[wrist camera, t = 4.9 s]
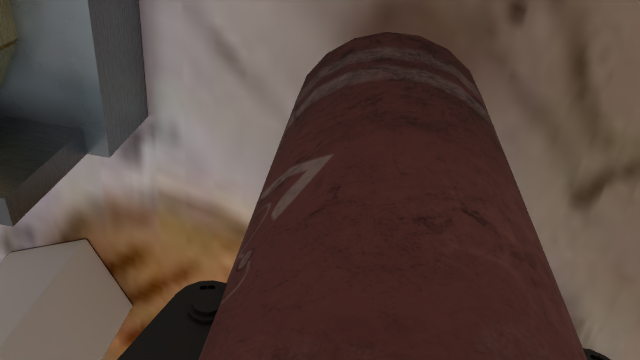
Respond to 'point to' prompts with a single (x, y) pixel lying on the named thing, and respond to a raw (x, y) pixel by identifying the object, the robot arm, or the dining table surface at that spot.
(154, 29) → the dining table surface
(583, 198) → the dining table surface
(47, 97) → the bolted ring bracket
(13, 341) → the milk
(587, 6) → the dining table surface
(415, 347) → the can
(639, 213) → the dining table surface
